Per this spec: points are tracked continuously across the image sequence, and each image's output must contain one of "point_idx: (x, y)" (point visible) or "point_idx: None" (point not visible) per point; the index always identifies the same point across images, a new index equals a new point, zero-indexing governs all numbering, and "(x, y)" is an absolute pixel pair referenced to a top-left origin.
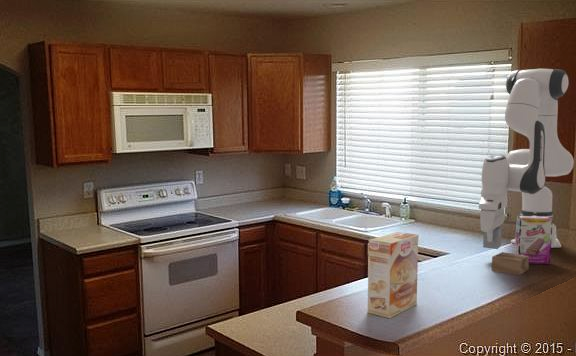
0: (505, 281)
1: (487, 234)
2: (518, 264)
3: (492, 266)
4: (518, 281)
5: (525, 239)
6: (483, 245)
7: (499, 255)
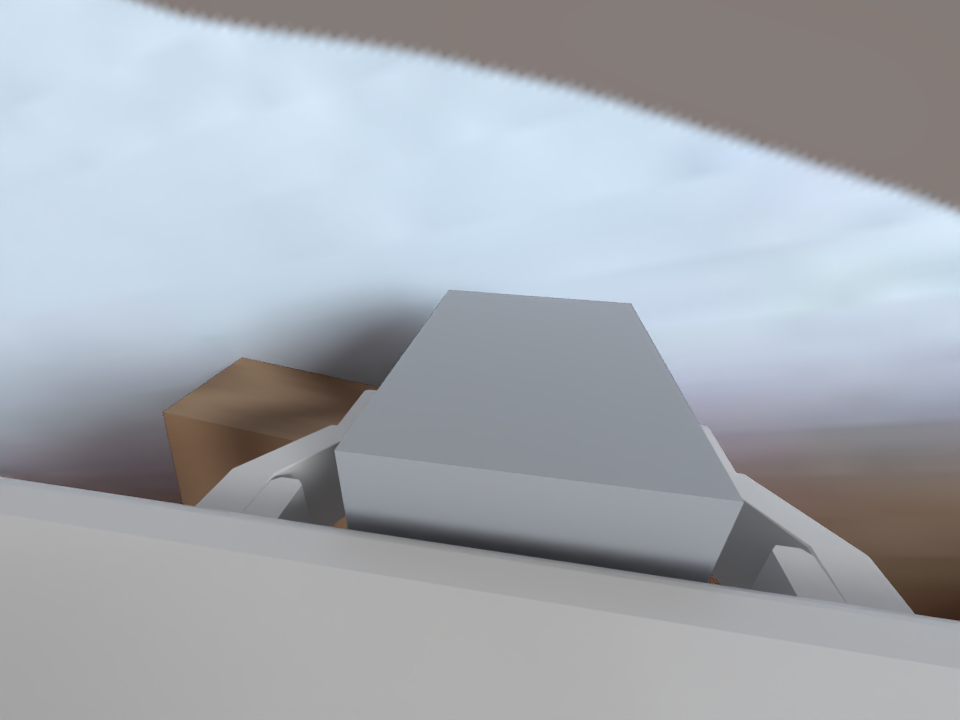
0: (84, 445)
1: (284, 455)
2: None
3: (223, 375)
4: (138, 493)
5: None
6: (445, 300)
7: (249, 455)
